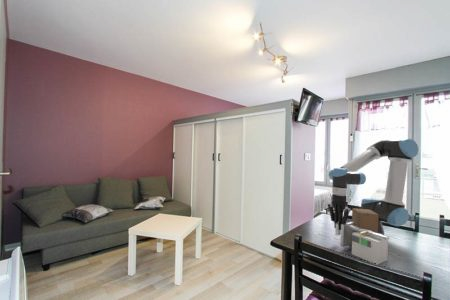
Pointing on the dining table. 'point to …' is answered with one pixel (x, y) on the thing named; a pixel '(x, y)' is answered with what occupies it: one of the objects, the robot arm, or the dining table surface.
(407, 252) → the dining table surface
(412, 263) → the dining table surface
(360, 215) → the wooden block
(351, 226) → the gauge plunger
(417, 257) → the dining table surface
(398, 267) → the dining table surface
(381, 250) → the white box
